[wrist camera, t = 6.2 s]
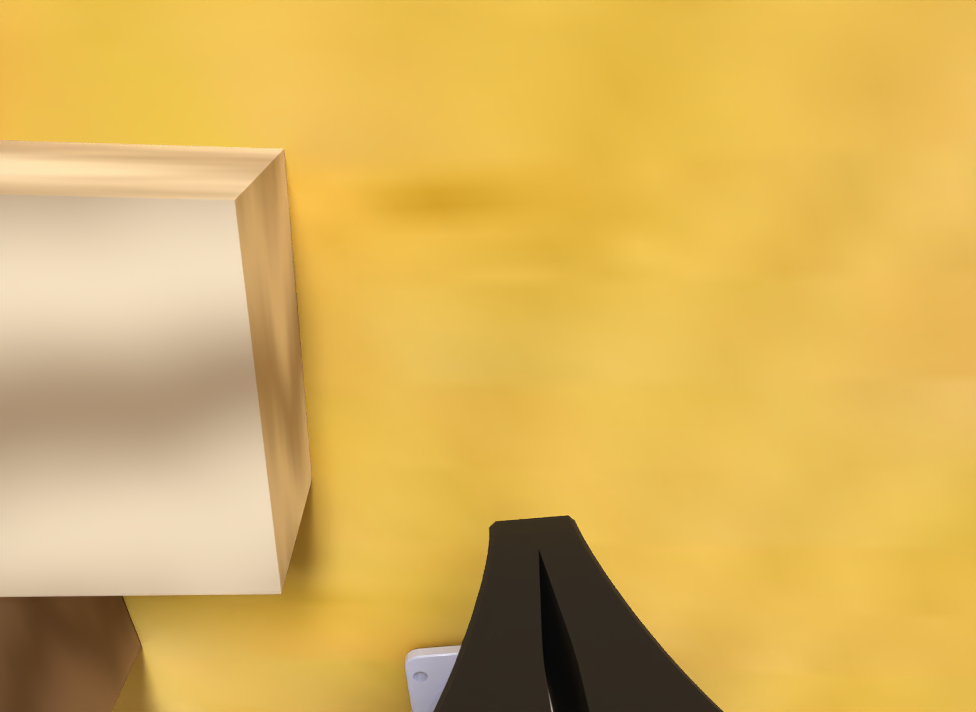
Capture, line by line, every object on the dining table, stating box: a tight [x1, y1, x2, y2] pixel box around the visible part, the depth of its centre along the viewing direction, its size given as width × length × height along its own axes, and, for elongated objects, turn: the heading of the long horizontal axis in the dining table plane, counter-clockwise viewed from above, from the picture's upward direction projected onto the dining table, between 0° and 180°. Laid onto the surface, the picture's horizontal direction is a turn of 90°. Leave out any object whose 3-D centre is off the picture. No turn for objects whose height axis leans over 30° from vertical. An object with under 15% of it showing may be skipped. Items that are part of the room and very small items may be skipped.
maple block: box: [0, 140, 312, 597], centre depth 18 cm, size 10×7×5 cm
